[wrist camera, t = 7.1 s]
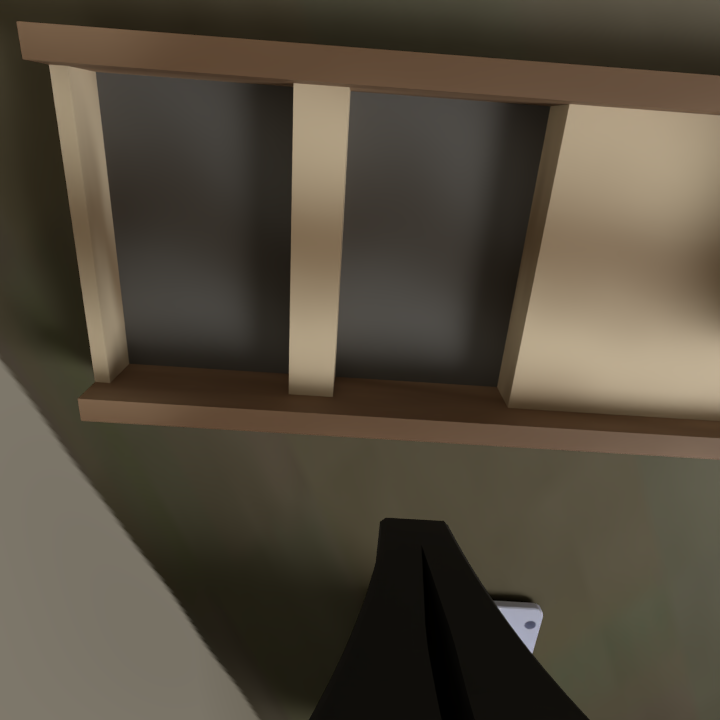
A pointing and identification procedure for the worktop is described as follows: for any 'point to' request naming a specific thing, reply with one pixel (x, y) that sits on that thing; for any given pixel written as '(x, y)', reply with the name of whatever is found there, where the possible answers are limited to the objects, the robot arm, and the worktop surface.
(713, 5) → the worktop surface
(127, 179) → the brown wooden open box
